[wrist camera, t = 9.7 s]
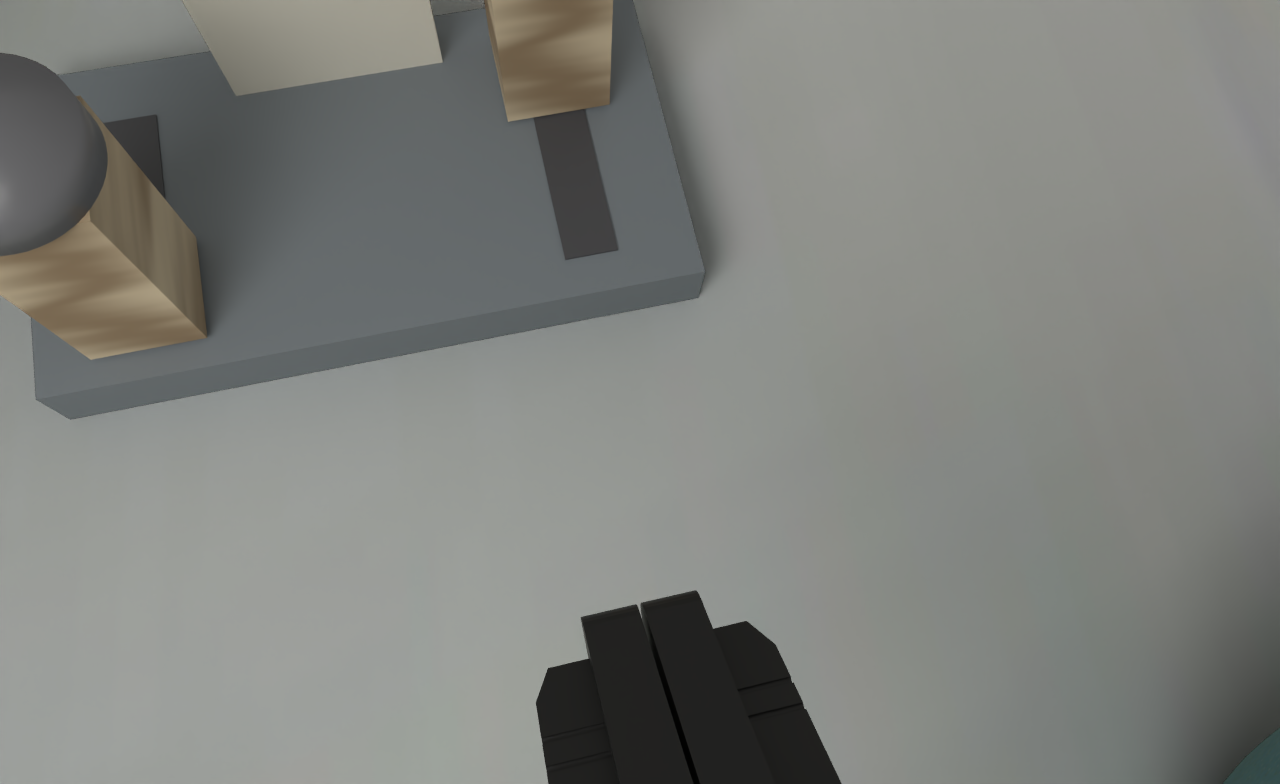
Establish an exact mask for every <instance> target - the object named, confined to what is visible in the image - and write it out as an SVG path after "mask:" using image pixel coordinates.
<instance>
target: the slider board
mask: <svg viewBox="0 0 1280 784" xmlns="http://www.w3.org/2000/svg"><path fill="white" fill-rule="evenodd" d="M182 2H183V3H184V5H185V7H186V9H187V10H188V12H189V14H190V16H191V17H192V19H193V21H194V23H195V24H196V26H197V28H198V30H199V32H200V33H201V35H202V37H203V39H204V40H205V42H206V44H207V46H208V47H209V49H210V51H209V52H203V53H196V54H190V55H184V56H177V57H171V58H165V59H158V60H152V61H146V62H139V63H133V64H127V65H120V66H114V67H108V68H101V69H95V70H89V71H82V72H76V73H70V74H63V75H57V76H58V77H59V78H60V79H61V80H62V81H63V82H64V83H65V84H66V85H67V86H68V88H69V89H70V90H71V91H72V92H73V94H74V95H75V96H81V97H82V98H83V99H84V101H85V102H86V103H87V104H88V106H89V107H90V108H91V109H92V110H93V112H94V113H95V114H96V115H97V117H98V118H99V119H100V120H101V121H102V123H103V124H104V125H105V126H106V128H107V129H108V130H109V131H110V132H111V134H112V135H113V136H114V137H115V139H116V140H117V141H118V142H119V143H120V145H121V146H122V147H123V148H124V150H125V151H126V152H127V153H128V154H129V156H130V157H131V158H132V159H133V161H134V162H135V163H136V164H137V165H138V167H139V168H140V169H141V170H142V172H143V173H144V174H145V175H146V176H147V178H148V179H149V180H150V181H151V183H152V184H153V185H154V186H155V188H156V189H157V190H158V191H159V192H160V194H161V195H162V196H163V197H164V199H165V200H166V201H167V202H168V203H169V205H170V206H171V207H172V208H173V210H174V211H175V212H176V213H177V214H178V216H179V217H180V218H181V219H182V221H183V222H184V223H185V224H186V225H187V227H188V228H189V229H190V230H191V232H192V233H193V234H194V235H195V236H196V240H197V249H198V258H199V267H200V276H201V285H202V294H203V303H204V312H205V321H206V330H207V338H204V339H199V340H193V341H188V342H183V343H177V344H172V345H167V346H161V347H156V348H151V349H146V350H140V351H135V352H130V353H124V354H119V355H114V356H108V357H103V358H98V359H92V360H90V359H89V358H87V357H86V356H85V355H83V354H82V353H80V352H79V351H78V350H76V349H75V348H74V347H72V346H71V345H69V344H68V343H67V342H65V341H64V340H62V339H61V338H60V337H58V336H57V335H55V334H54V333H53V332H51V331H50V330H48V329H47V328H46V327H44V326H43V325H42V324H40V323H39V322H37V321H36V320H35V319H33V318H32V317H31V328H32V345H33V362H34V378H35V395H36V400H37V401H39V402H41V403H43V404H44V405H46V406H48V407H50V408H51V409H53V410H55V411H56V412H58V413H60V414H62V415H63V416H65V417H67V418H69V419H75V418H80V417H86V416H91V415H96V414H101V413H106V412H111V411H117V410H122V409H127V408H132V407H137V406H142V405H148V404H153V403H158V402H163V401H168V400H173V399H178V398H184V397H189V396H194V395H199V394H204V393H209V392H215V391H220V390H225V389H230V388H235V387H240V386H245V385H251V384H256V383H261V382H266V381H271V380H276V379H282V378H287V377H292V376H297V375H302V374H307V373H312V372H318V371H323V370H328V369H333V368H338V367H343V366H349V365H354V364H359V363H364V362H369V361H374V360H379V359H385V358H390V357H395V356H400V355H405V354H410V353H416V352H421V351H426V350H431V349H436V348H441V347H446V346H452V345H457V344H462V343H467V342H472V341H477V340H483V339H488V338H493V337H498V336H503V335H508V334H514V333H519V332H524V331H529V330H534V329H539V328H544V327H550V326H555V325H560V324H565V323H570V322H575V321H581V320H586V319H591V318H596V317H601V316H606V315H611V314H617V313H622V312H627V311H632V310H637V309H642V308H648V307H653V306H658V305H663V304H668V303H673V302H678V301H684V300H689V299H694V298H698V297H699V293H700V289H701V285H702V282H703V278H704V274H705V269H704V265H703V262H702V258H701V254H700V250H699V247H698V243H697V239H696V235H695V232H694V228H693V224H692V220H691V217H690V213H689V209H688V205H687V202H686V198H685V194H684V190H683V187H682V183H681V179H680V175H679V172H678V168H677V164H676V160H675V157H674V153H673V149H672V145H671V142H670V138H669V134H668V130H667V127H666V123H665V119H664V115H663V112H662V108H661V104H660V100H659V97H658V93H657V89H656V85H655V82H654V78H653V74H652V70H651V67H650V63H649V59H648V55H647V52H646V48H645V44H644V40H643V37H642V33H641V29H640V25H639V22H638V18H637V14H636V10H635V7H634V3H633V0H613V17H612V46H611V75H610V104H609V105H604V106H598V107H592V108H586V109H580V110H574V111H569V112H563V113H557V114H551V115H545V116H539V117H533V118H528V119H522V120H516V121H510V122H508V120H507V115H506V110H505V106H504V101H503V96H502V92H501V87H500V83H499V78H498V73H497V69H496V64H495V59H494V55H493V50H492V46H491V41H490V36H489V30H488V23H487V16H486V9H485V8H481V9H475V10H469V11H462V12H456V13H450V14H443V15H437V16H433V13H432V8H431V4H430V0H182Z"/></svg>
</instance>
